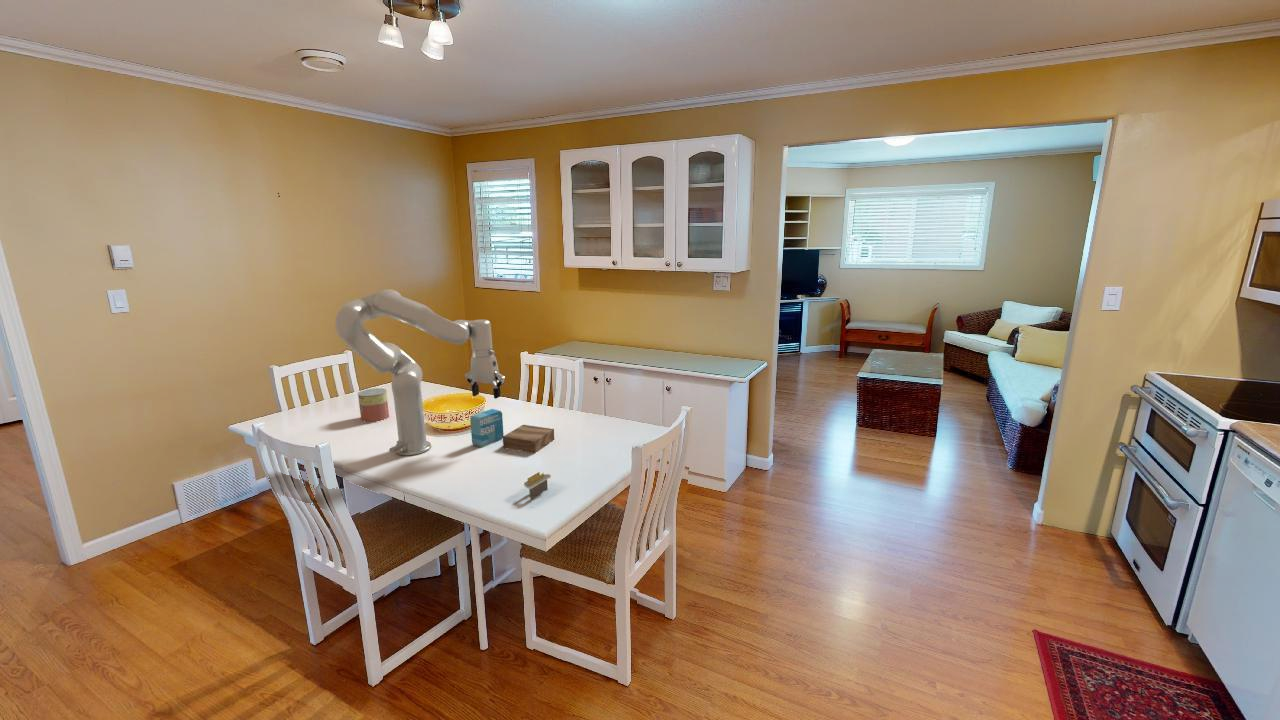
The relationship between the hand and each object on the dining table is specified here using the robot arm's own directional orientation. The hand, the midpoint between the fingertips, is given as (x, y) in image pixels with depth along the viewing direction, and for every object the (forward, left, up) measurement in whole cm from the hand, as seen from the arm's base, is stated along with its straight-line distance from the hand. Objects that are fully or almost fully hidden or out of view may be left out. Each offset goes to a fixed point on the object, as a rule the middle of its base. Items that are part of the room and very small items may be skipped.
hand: (486, 396), depth 210 cm
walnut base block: (+4, -16, -19) cm, 25 cm away
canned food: (+6, +63, -19) cm, 66 cm away
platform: (-31, -40, -19) cm, 54 cm away
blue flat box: (0, 0, -19) cm, 19 cm away
